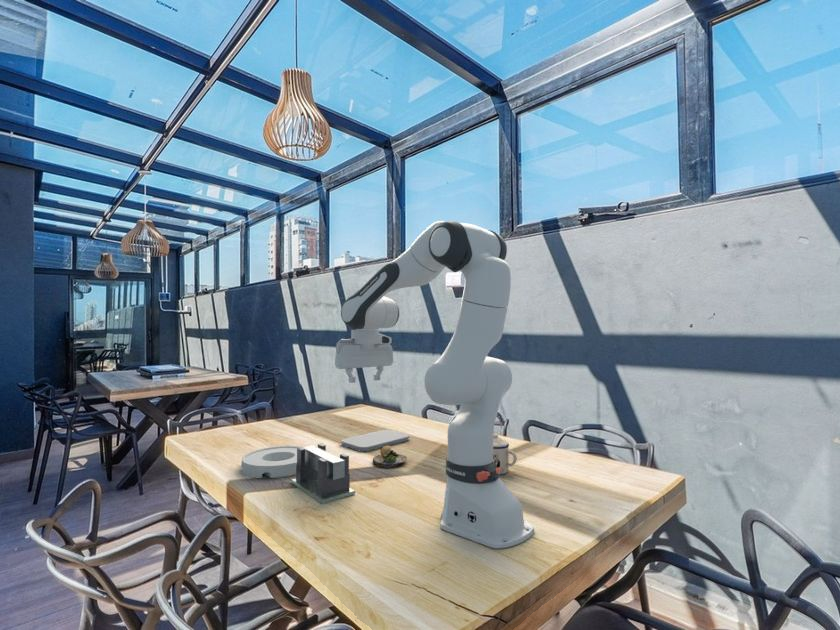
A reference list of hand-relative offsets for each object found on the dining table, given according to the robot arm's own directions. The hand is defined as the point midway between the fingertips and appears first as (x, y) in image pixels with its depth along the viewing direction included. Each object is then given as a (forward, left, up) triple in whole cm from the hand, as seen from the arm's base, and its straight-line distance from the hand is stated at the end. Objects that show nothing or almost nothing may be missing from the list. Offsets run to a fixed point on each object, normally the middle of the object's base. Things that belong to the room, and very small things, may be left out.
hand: (364, 381), depth 138 cm
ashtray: (+24, +19, -30) cm, 43 cm away
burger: (+3, -12, -30) cm, 32 cm away
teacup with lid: (-27, -34, -29) cm, 52 cm away
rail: (-4, +17, -24) cm, 29 cm away
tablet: (+28, -23, -30) cm, 47 cm away
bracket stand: (-4, +17, -29) cm, 34 cm away
